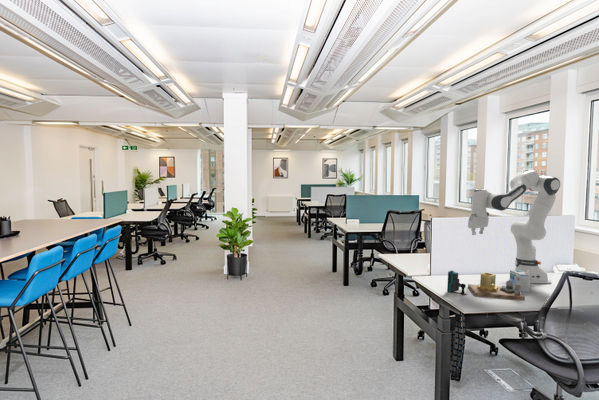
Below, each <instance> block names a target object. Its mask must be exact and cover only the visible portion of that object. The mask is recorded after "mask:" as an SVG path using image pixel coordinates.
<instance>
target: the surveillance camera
mask: <svg viewBox="0 0 599 400" xmlns="http://www.w3.org/2000/svg"><path fill="white" fill-rule="evenodd" d="M460 288H461V291H460ZM465 289H466V283H460V279H459V273H458V272H455V271H454V270H449V271H447V289H446V292H448V293H449V292H451V291H452V292H459V291H460V292H459V293H458V295H459V296H460V295H461V296H467V295H468V293H465Z"/></svg>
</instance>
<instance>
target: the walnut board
mask: <svg viewBox="0 0 599 400" xmlns="http://www.w3.org/2000/svg"><path fill="white" fill-rule="evenodd" d="M477 286H478V284H471V283H470V284H467V288H468V289H469V290H470V292H471V293H472V294H473V295H474V296H475V297H479V298H493V299H505V300H506V299H507V300H518V301H525V300H526V297H525V295H523V294H522V293H521V292H522V291H521V284H515V291H514V293H507V292H505V291H501V290H500V287H501V286H496V285H495V287H498V290H497V291H493V292H489V291H483V290H481V289H477Z"/></svg>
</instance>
